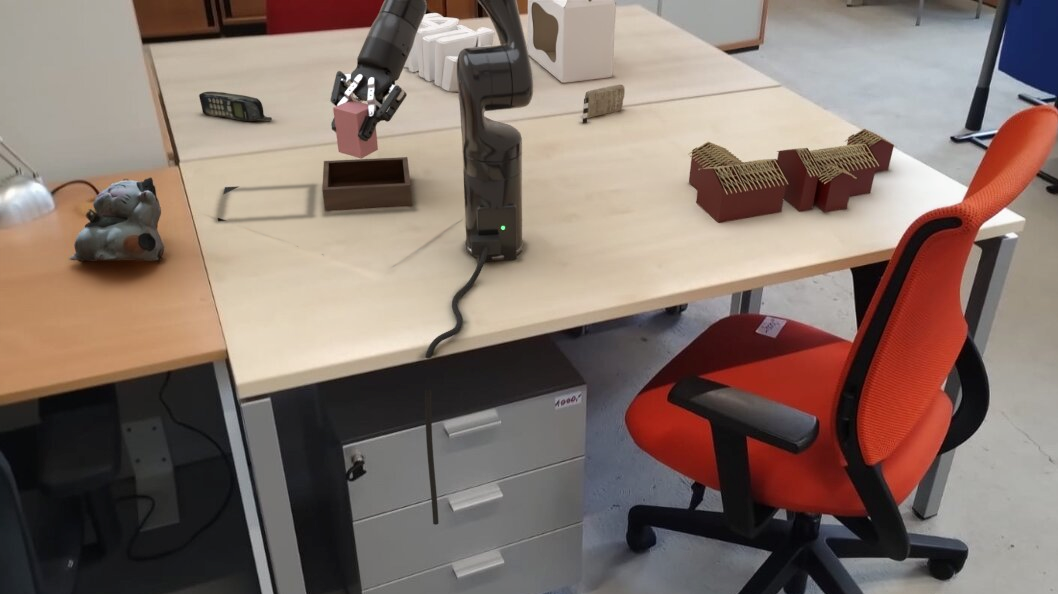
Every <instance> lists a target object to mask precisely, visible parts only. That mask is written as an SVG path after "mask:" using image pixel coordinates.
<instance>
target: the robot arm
mask: <svg viewBox="0 0 1058 594" xmlns="http://www.w3.org/2000/svg"><path fill="white" fill-rule="evenodd" d="M477 2H478V3H479V5H481V7H482V8H483V9H484V11H485V12H486V14H487V16H488V18H489V19H490V21H491V23H492V25H493V27H494V29H495V30H494V31H495V33H496V34H497V37H498V41H499V44H500V45H492V46H485V47H472V48H465V49H463V50H461V51H460V53H459V55H458V59H457V84H458V92H457V93H458V101H459V113H460V130H461V144H462V145H461V146H462V147H461V148H462V149H461V150H462V168H463V169H462V174H463V196H464V222H465V223H464V224H465V249H466V251H467V252H468V254H470V255H471V256H472V257H474V258H477V261H478V262H477V263H478V264H477V266H476V268H475V270H474V272H473V274H472V275H471V277H470V278H469V280H468V281H467V282H466V284H465V285H464V286H463V287H461V288H460V289H459V290H458V291H457V292H456V293H455V295H454V296H453V299H452V300H451V308H452V312H453V314H454V317H455V319H456V324H455V326H454V327H453V328H452V329H450V330H447V331H445V332H442V333H441V334H439V335H438V336H436V337H435V338H434V339H433V340H432V341H431V342H430V344H429V346H428V347H427V349H426V352H425V356H424V358H425V359H430V358H432V356H433V354H434V351H435V349H436V347H437V346H438V345H439V344H440V343H442V342H443V341H445V340H447V339H449V338H452V337H454V336H455V335H457V334H458V333H459V332H460V331H461V330H462V327H463V324H464V319H463V315H462V312H461V311H460V309H459V301H460V299H461V298H462V296H463V295H464V294H466V293H467V292H468V291H469V290H470V289H471V288H472V287H473V285H474V284H475V282H476V281H477V279H478V278H479V276H480V274H481V271H482V270H483V268H484V266H485V263H486V262H491V261H492V262H493V261H505V260H507V261H508V260H517V258H518V255H519V254H520V253H521V252H522V251H523V248H524V240H523V138H522V135H521V132H520V131H519V130H518V129H517V128H516V127H514V126H512V125H510V124H508V123H504V122H500V121H498V120H494V119H491V118H488V117H487V116H485V112H491V111H501V110H502V111H503V110H513V109H521V108H525V107H527V106H529V105H530V103H531V102H532V99H533V94H534V78H533V70H532V65H531V60H530V56H529V54H528V44H527V42H526V37H525V33H524V29H523V23H522V20H521V16H520V11H519V6H518V1H517V0H477ZM427 8H428V4H427V1H426V0H384V1H383V3H382V5H381V7H380V10H379V12H378V14H377V16H376V18H375V19H374V21H373V22H372V24H371V26H370V28H369V31H368V33H367V35H366V38H365V40H364V42H363V45H362V47H361V49H360V52H359V54H358V56H357V59H356V60H357V61H356V62H357V65H356V67H355V69H354V70H353V71H352V72H351V73H343V72H342V71H341V70H338V71H337V72H336V74H335V78H334V82H333V87H332V91H331V95H330V102H331V104H333V105H334V107H336V106H338V105H341V104H343V103H345V102H349V101H357V102H361V103H364V102H366V104H368V117H367V116H365V119H364V121H363V123H362V126H361V128H360V130H359V132H358V137H359V138H360V139H361V140H363V141H368V139H370V138H371V137H372V134H373V132H374V130H375V127H376V128H377V125H378V123H380V122H383V121H385V122H387V123H389V122H390V121H391V120H392V118H393V117H394V115H395V114H396V113H397V111H398V109H399V108H400V107H401V105H402V104H403V102H404V101H405V99H406V97H407V96H408V95H407V92H406V91H405V90H404V89H403V88H402V87H400V85H398V84H397V85H396V82H397V81H398V80H399V79H400V77H401V74H402V73H403V70H404V68H405V67H404V65H405V63H406V60H407V58H408V56H409V54H410V51H411V49H412V46H413V44H414V40H415V36H416V34H417V31H418V29H419V27H420V24H421V22H422V19H423V17H424V15H425V14H426V12H427ZM354 96H355V97H354ZM331 130H332V131H333V132H335V133H336V127H335V119H334V118H332V121H331ZM424 405H425V407H424V409H425V410H424V411H425V414H424V415H425V437H426V438H425V439H426V440H425V441H426V453H427V454H426V455H427V466H428V476H429V477H428V478H429V489H430V497H431V498H430V499H431V511H432V513H431V514H432V524H433V525H434V526H436V525H438V524H439V509H438V508H439V507H438V506H439V505H438V494H437V484H436V483H437V482H436V471H435V460H434V446H433V426H432V425H433V421H432V389H425V390H424Z"/></svg>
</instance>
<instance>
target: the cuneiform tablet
mask: <svg viewBox="0 0 1058 594" xmlns="http://www.w3.org/2000/svg"><path fill="white" fill-rule="evenodd" d="M625 90H626V89H625V86H624V85H623V84H615V85H614V84H613V85H609V86H605V87H600V88H595V89H591V90H587V91H585V95H584V98H583V107H582V108H583V109H582V124H586V123H588V119H589V118H593V117H596V116H602V115H606V114H610V113H611V114H612V113H615V112H620V111H621V110H622V109H623V105H624V99H625Z"/></svg>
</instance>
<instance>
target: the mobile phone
mask: <svg viewBox="0 0 1058 594" xmlns="http://www.w3.org/2000/svg"><path fill="white" fill-rule="evenodd" d="M198 97H199V101H200V105H201V111H202V114H203V115H206V116H210V117H211V116H212V117H218V118H225V119H231V120H236V121H241V122H254V121H255V122H256V121H259V120H261V121H270V122H271V121H272V120H273V117H271V116H270V117H269V116H266V115H265V114H264V113H265V112H264V106H263V103H262V102H261V100H260V99H259V98H257V97H253V96H249V95H245V94H235V93H227V92H223V91H204V92H201V93H199V94H198Z"/></svg>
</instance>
